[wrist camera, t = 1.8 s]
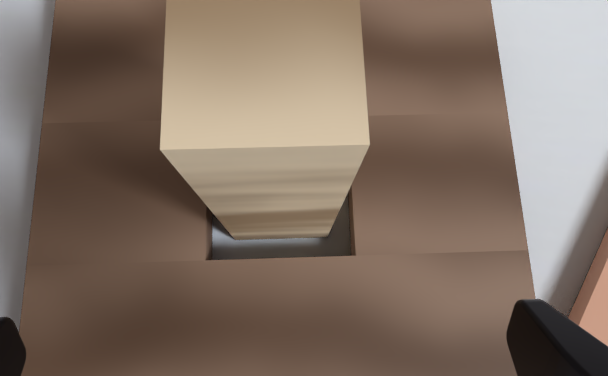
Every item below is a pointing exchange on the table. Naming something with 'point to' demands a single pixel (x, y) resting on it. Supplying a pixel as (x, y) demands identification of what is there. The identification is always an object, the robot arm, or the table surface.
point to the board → (276, 271)
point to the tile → (594, 297)
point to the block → (266, 110)
